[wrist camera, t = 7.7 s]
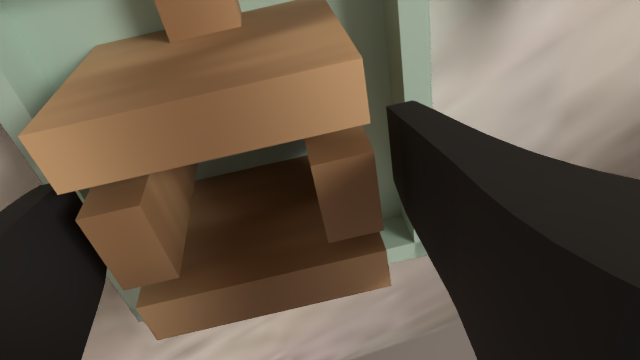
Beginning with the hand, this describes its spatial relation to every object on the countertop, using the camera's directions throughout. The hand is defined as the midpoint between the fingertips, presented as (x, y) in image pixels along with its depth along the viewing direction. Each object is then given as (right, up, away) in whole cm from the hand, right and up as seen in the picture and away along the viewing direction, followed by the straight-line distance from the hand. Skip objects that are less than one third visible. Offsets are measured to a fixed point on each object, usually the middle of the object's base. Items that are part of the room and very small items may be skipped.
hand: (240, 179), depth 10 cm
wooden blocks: (0, +2, +2) cm, 3 cm away
